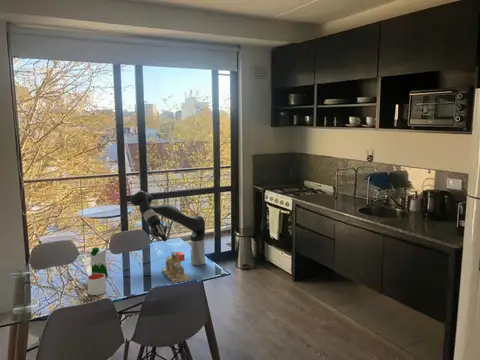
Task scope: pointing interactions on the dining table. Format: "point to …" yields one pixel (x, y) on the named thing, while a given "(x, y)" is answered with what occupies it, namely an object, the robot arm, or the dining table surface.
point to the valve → (174, 270)
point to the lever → (178, 255)
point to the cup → (96, 284)
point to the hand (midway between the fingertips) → (165, 240)
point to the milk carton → (98, 261)
